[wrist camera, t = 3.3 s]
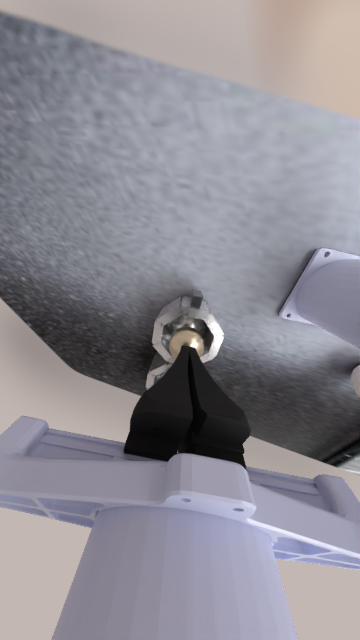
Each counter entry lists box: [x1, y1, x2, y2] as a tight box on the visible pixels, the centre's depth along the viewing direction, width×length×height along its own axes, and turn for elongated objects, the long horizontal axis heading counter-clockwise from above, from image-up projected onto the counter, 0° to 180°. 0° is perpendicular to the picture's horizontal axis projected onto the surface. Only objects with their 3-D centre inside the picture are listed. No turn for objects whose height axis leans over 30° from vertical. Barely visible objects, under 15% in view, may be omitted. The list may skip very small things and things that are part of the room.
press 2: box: [152, 290, 224, 364], centre depth 16 cm, size 8×9×4 cm
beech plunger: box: [169, 315, 205, 359], centre depth 16 cm, size 5×5×5 cm
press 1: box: [146, 352, 172, 390], centre depth 20 cm, size 8×9×4 cm
